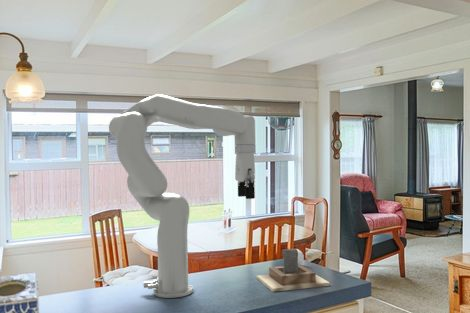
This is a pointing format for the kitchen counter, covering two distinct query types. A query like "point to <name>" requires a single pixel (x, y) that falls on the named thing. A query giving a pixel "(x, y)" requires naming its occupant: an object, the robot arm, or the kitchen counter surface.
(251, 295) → the kitchen counter surface
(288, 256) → the stone
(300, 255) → the ornament
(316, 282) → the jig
